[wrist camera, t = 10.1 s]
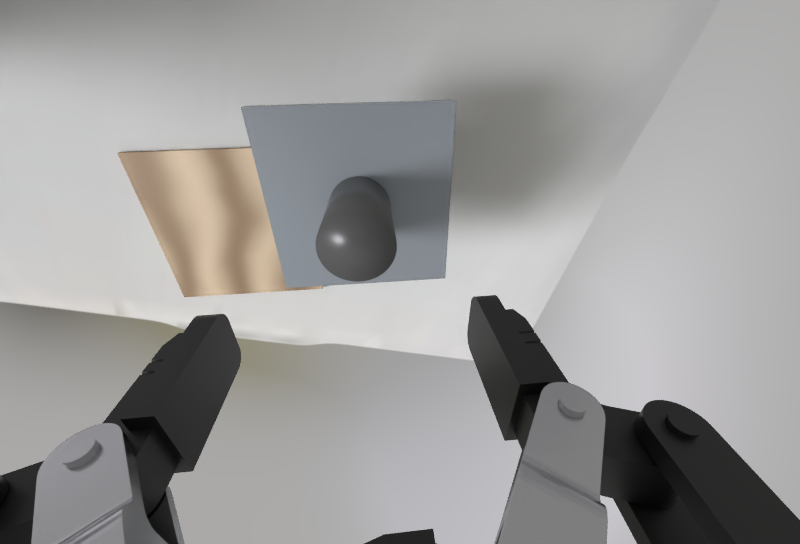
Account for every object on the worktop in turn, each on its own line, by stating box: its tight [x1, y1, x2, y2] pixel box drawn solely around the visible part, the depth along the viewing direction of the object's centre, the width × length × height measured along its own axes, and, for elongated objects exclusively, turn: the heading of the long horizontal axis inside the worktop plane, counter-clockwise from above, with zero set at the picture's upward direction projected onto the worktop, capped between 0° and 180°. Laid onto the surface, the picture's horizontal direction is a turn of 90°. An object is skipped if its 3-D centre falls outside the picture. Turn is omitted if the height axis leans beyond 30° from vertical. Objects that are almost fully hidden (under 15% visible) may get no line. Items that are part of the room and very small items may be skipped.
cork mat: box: [118, 147, 323, 297], centre depth 33 cm, size 16×16×1 cm
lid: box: [241, 100, 456, 288], centre depth 19 cm, size 12×12×7 cm
